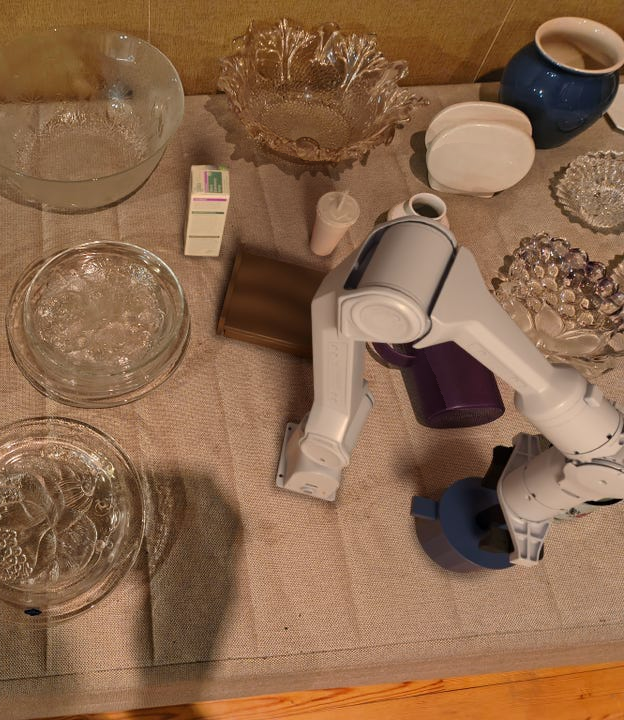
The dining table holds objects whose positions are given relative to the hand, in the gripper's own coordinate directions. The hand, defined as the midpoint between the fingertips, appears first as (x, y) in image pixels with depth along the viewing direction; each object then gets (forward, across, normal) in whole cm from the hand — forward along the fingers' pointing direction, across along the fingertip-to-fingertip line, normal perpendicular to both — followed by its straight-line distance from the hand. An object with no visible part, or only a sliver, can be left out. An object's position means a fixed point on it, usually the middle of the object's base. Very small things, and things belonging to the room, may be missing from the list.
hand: (488, 516), depth 79 cm
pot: (+9, 0, 0) cm, 9 cm away
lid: (+2, 0, 0) cm, 2 cm away
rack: (+8, +27, +29) cm, 41 cm away
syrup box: (+8, +36, +43) cm, 57 cm away
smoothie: (+8, +41, +24) cm, 48 cm away
